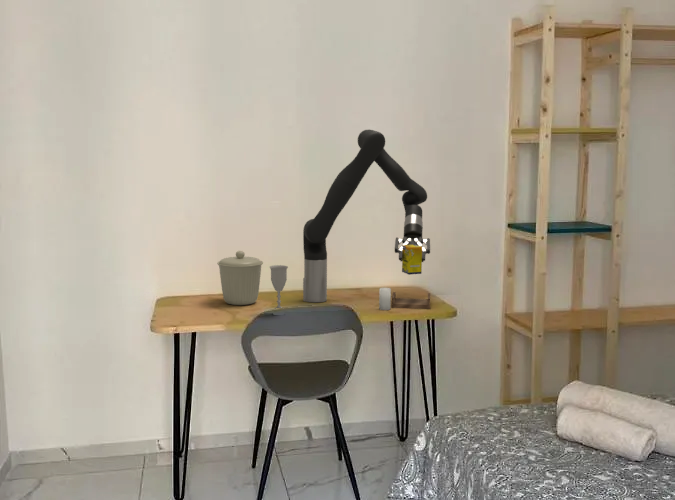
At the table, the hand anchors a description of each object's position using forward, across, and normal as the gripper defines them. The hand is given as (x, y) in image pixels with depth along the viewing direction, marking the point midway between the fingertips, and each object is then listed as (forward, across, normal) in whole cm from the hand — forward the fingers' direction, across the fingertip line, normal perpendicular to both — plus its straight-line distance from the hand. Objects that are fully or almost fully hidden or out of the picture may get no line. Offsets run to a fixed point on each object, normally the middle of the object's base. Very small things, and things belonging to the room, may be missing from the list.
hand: (411, 260), depth 299 cm
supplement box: (+3, 0, +5) cm, 6 cm away
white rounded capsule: (+18, -10, +8) cm, 22 cm away
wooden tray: (+12, 0, +14) cm, 18 cm away
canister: (+16, -68, +10) cm, 71 cm away
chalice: (+28, -49, -2) cm, 57 cm away
